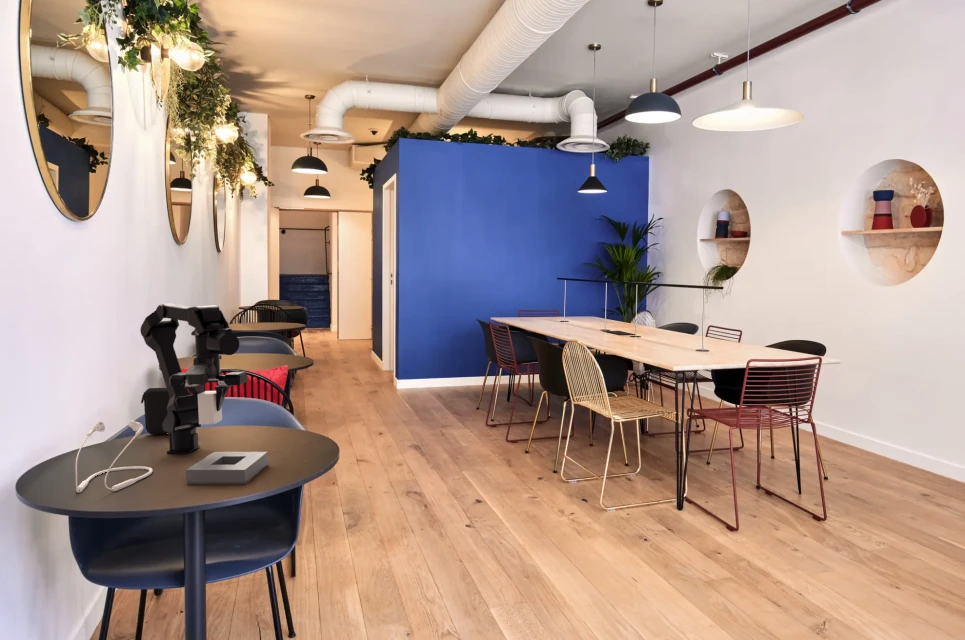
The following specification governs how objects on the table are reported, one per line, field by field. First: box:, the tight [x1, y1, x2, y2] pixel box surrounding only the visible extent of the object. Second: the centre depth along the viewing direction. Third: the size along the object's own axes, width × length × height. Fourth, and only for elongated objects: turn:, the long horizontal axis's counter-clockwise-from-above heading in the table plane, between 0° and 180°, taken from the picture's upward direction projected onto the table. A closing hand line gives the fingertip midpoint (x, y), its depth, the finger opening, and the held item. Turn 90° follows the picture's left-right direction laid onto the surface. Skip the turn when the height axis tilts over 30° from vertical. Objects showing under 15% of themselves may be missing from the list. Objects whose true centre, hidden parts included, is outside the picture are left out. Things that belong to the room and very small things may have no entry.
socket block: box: [185, 451, 269, 485], centre depth 157 cm, size 14×15×4 cm
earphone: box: [74, 420, 154, 493], centre depth 154 cm, size 14×17×18 cm
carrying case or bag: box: [140, 387, 170, 435], centre depth 197 cm, size 11×3×15 cm, turn 96°
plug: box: [198, 390, 223, 425], centre depth 170 cm, size 4×6×8 cm, turn 179°
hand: (210, 410), depth 170 cm, fingers closed on plug, 4 cm apart
